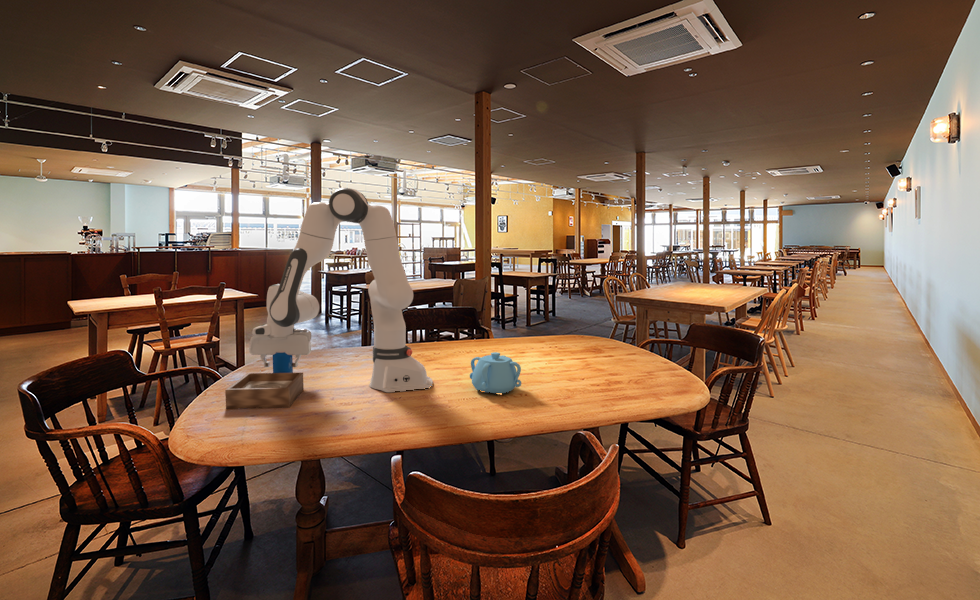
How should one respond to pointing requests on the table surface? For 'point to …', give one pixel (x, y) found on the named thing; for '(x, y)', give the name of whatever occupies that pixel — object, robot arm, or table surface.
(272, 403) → the caddy
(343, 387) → the table surface
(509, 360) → the decorative pot
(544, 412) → the table surface
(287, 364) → the beverage can
